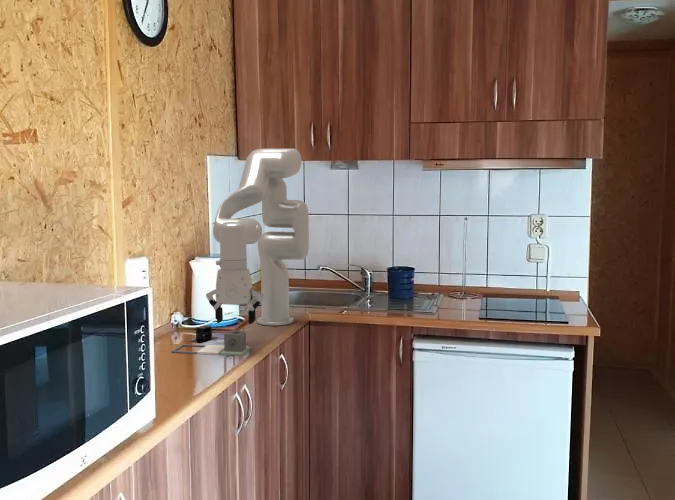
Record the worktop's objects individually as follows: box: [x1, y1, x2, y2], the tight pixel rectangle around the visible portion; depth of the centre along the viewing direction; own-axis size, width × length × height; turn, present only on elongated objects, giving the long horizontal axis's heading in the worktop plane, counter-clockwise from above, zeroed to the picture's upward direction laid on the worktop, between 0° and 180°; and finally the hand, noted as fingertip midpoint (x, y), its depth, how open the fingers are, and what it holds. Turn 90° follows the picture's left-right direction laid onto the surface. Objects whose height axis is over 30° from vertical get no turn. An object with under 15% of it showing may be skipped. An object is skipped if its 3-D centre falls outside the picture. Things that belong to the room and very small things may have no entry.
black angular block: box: [187, 325, 221, 345], centre depth 218 cm, size 12×7×5 cm, turn 149°
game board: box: [171, 343, 251, 357], centre depth 204 cm, size 8×21×1 cm, turn 80°
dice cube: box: [223, 330, 247, 352], centre depth 203 cm, size 5×5×5 cm
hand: (235, 322), depth 203 cm, fingers open, 9 cm apart
